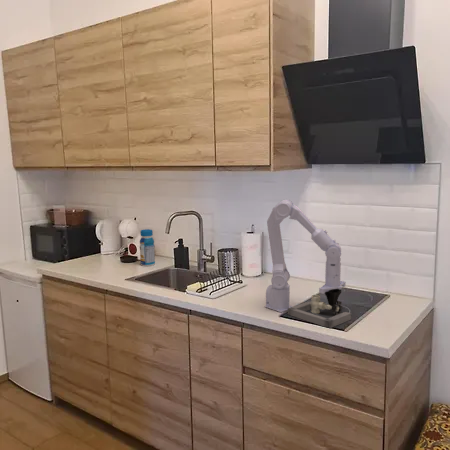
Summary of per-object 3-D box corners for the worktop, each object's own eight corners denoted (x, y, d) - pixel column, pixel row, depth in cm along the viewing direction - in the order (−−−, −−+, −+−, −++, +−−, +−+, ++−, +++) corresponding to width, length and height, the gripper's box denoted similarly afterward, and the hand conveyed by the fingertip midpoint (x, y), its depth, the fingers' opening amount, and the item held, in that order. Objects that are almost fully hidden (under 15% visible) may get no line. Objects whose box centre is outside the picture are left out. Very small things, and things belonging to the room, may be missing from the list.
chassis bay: (287, 314, 184) (287, 308, 184) (308, 307, 193) (309, 301, 192) (329, 328, 169) (329, 321, 169) (350, 319, 178) (350, 313, 177)
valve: (306, 313, 186) (334, 319, 178) (306, 297, 185) (334, 303, 177) (315, 308, 190) (342, 315, 183) (315, 293, 189) (342, 298, 182)
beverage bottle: (151, 266, 264) (150, 231, 261) (137, 266, 266) (136, 231, 263) (157, 263, 272) (156, 229, 269) (143, 262, 274) (142, 228, 271)
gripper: (330, 279, 176) (329, 314, 179) (352, 272, 186) (351, 305, 188) (315, 275, 182) (314, 309, 184) (337, 269, 191) (336, 301, 193)
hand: (332, 307), depth 186 cm, fingers closed
